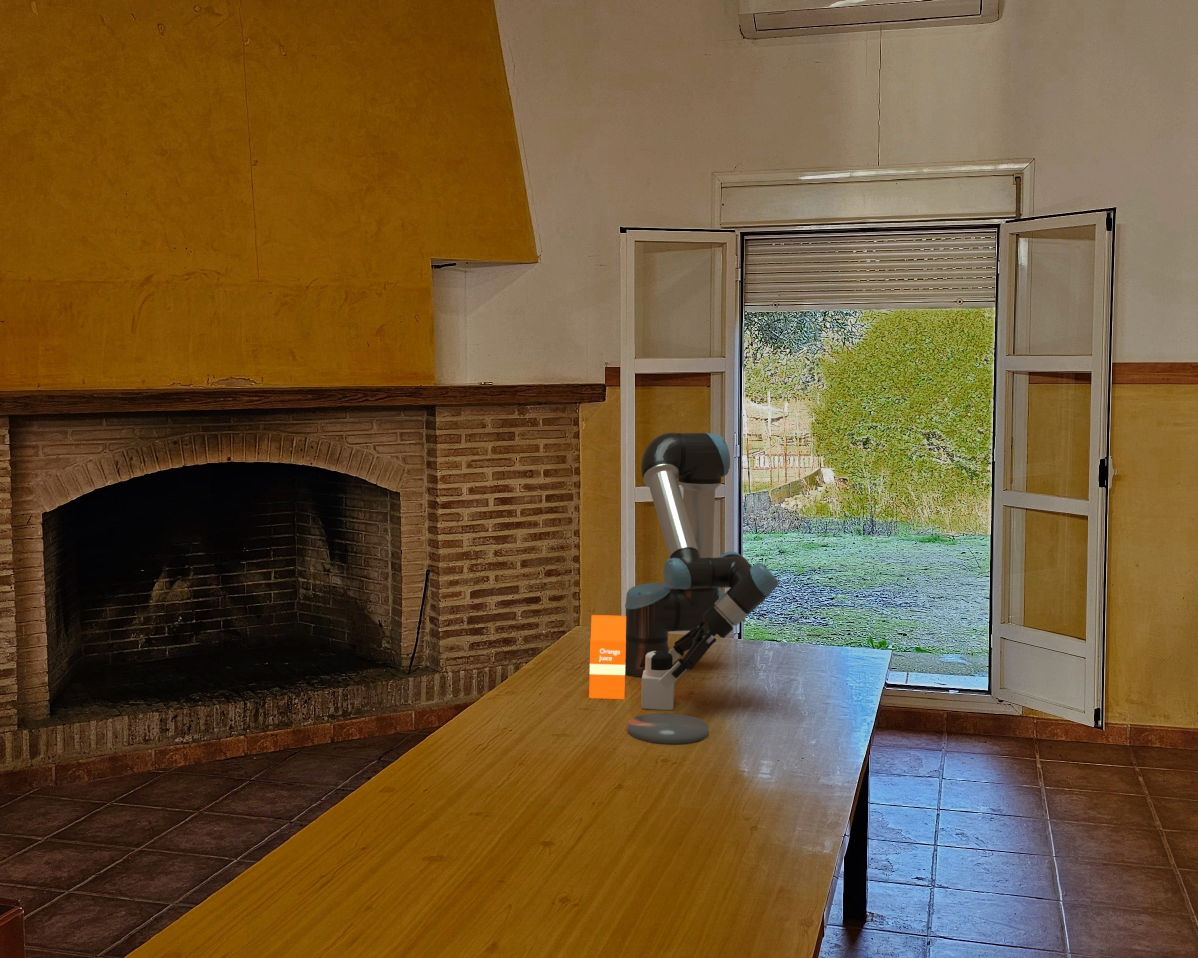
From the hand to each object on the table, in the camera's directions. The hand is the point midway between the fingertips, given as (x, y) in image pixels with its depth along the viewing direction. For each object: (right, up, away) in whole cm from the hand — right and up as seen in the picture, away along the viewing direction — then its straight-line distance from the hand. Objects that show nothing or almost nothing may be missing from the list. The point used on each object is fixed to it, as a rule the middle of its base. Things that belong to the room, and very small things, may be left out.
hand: (660, 677), depth 269 cm
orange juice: (-13, -6, +10) cm, 18 cm away
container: (-1, -7, +1) cm, 7 cm away
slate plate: (+1, -9, -19) cm, 21 cm away
